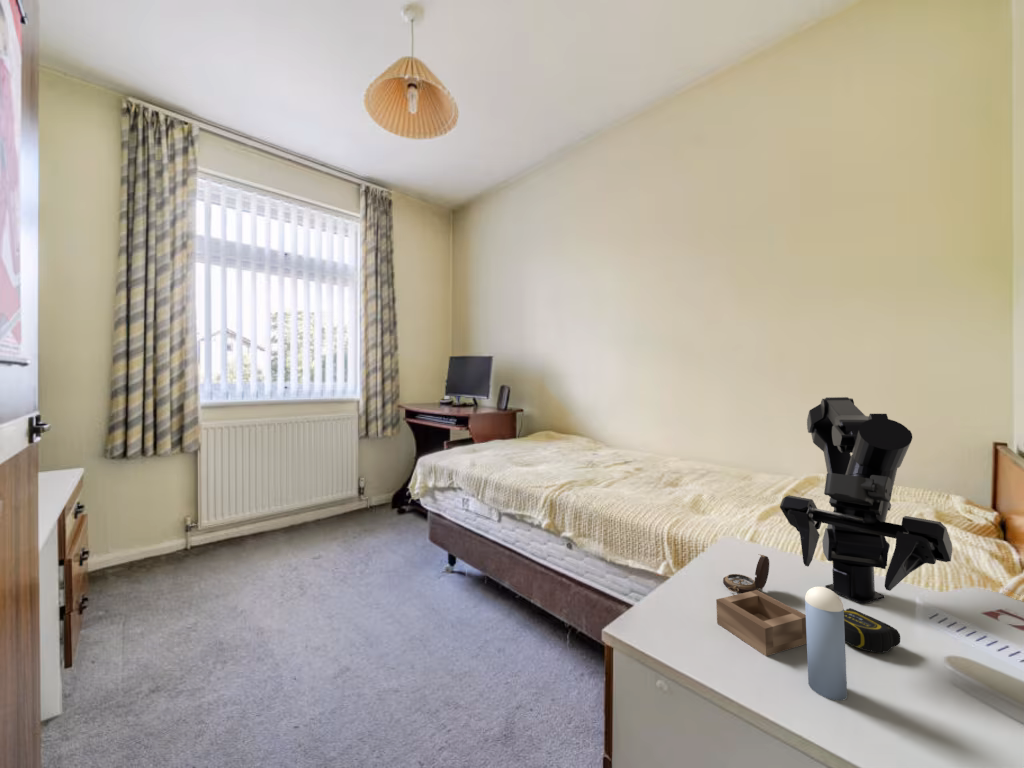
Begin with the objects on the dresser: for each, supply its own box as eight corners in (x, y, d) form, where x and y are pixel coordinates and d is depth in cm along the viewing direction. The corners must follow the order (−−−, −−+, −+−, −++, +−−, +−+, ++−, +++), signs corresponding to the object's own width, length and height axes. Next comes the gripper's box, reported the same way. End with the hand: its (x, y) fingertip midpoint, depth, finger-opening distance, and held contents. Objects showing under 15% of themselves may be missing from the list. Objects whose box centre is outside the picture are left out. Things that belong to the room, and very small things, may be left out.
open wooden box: (757, 612, 71) (756, 589, 71) (809, 642, 62) (808, 616, 62) (717, 623, 68) (716, 599, 68) (766, 656, 59) (765, 628, 59)
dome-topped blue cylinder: (822, 675, 55) (818, 578, 55) (854, 695, 51) (850, 592, 52) (801, 682, 54) (797, 584, 54) (833, 704, 50) (828, 598, 50)
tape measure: (904, 652, 60) (903, 626, 60) (872, 662, 58) (871, 636, 58) (852, 627, 66) (852, 604, 66) (823, 635, 64) (822, 611, 64)
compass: (728, 576, 85) (727, 541, 85) (772, 589, 79) (771, 551, 79) (714, 590, 79) (713, 552, 79) (759, 604, 74) (758, 564, 74)
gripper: (782, 446, 68) (752, 526, 61) (943, 460, 52) (924, 568, 46) (804, 486, 72) (778, 565, 66) (959, 510, 57) (944, 616, 50)
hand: (843, 576), depth 57 cm, fingers open, 9 cm apart
